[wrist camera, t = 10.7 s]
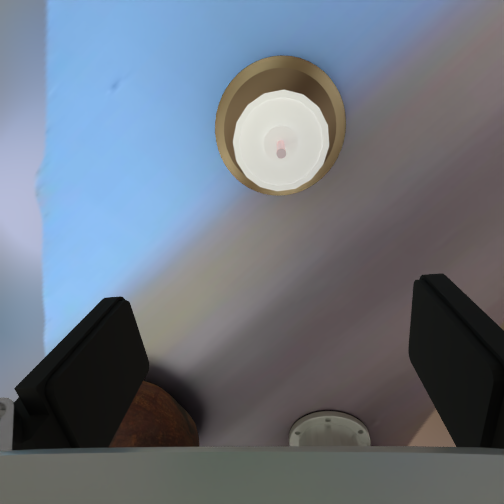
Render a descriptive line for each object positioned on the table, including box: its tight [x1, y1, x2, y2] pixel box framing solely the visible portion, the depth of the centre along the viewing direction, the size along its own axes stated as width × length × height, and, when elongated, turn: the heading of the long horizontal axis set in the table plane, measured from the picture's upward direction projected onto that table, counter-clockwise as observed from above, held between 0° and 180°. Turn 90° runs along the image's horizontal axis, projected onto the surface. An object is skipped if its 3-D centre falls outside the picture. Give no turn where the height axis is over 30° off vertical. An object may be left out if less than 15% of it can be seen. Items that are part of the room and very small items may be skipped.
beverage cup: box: [233, 90, 329, 191], centre depth 22 cm, size 6×6×14 cm
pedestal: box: [215, 56, 346, 195], centre depth 30 cm, size 12×12×4 cm
